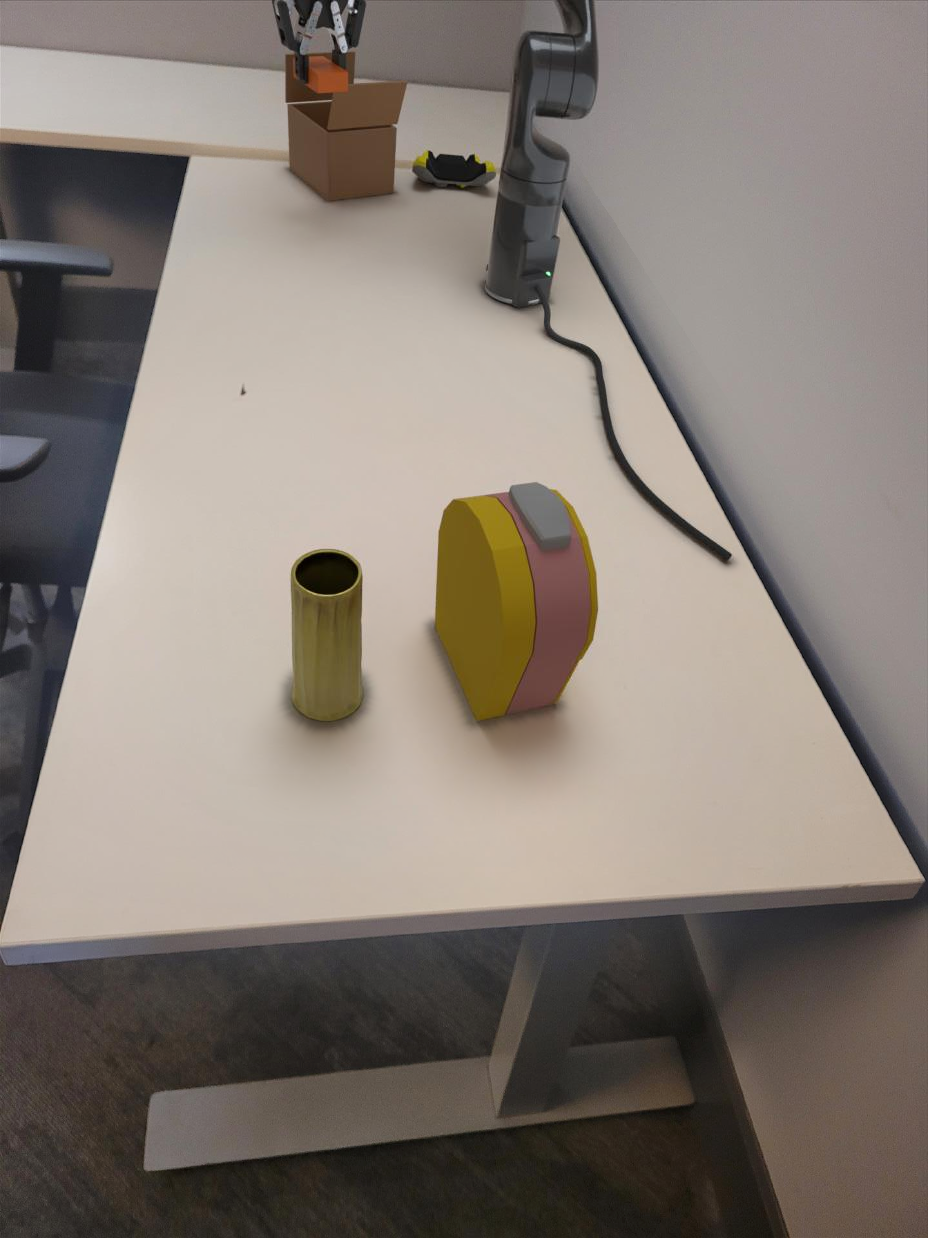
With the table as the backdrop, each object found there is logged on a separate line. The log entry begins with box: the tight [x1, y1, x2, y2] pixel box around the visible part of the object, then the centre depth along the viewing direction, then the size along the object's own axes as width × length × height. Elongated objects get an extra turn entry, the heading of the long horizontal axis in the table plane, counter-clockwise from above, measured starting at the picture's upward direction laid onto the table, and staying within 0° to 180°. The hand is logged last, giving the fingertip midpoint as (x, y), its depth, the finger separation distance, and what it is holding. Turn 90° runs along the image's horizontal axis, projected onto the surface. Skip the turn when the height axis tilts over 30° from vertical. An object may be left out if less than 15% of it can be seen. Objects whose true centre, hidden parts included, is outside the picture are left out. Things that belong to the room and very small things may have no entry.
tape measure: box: [434, 481, 599, 722], centre depth 70 cm, size 15×8×18 cm, turn 20°
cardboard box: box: [284, 50, 398, 202], centre depth 146 cm, size 16×13×18 cm
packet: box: [293, 56, 348, 93], centre depth 126 cm, size 8×5×2 cm, turn 34°
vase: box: [290, 548, 365, 722], centre depth 67 cm, size 6×6×14 cm
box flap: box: [327, 80, 408, 130], centre depth 137 cm, size 7×13×1 cm
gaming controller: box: [411, 149, 497, 188], centre depth 155 cm, size 15×6×10 cm
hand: (320, 80), depth 127 cm, fingers closed on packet, 5 cm apart
